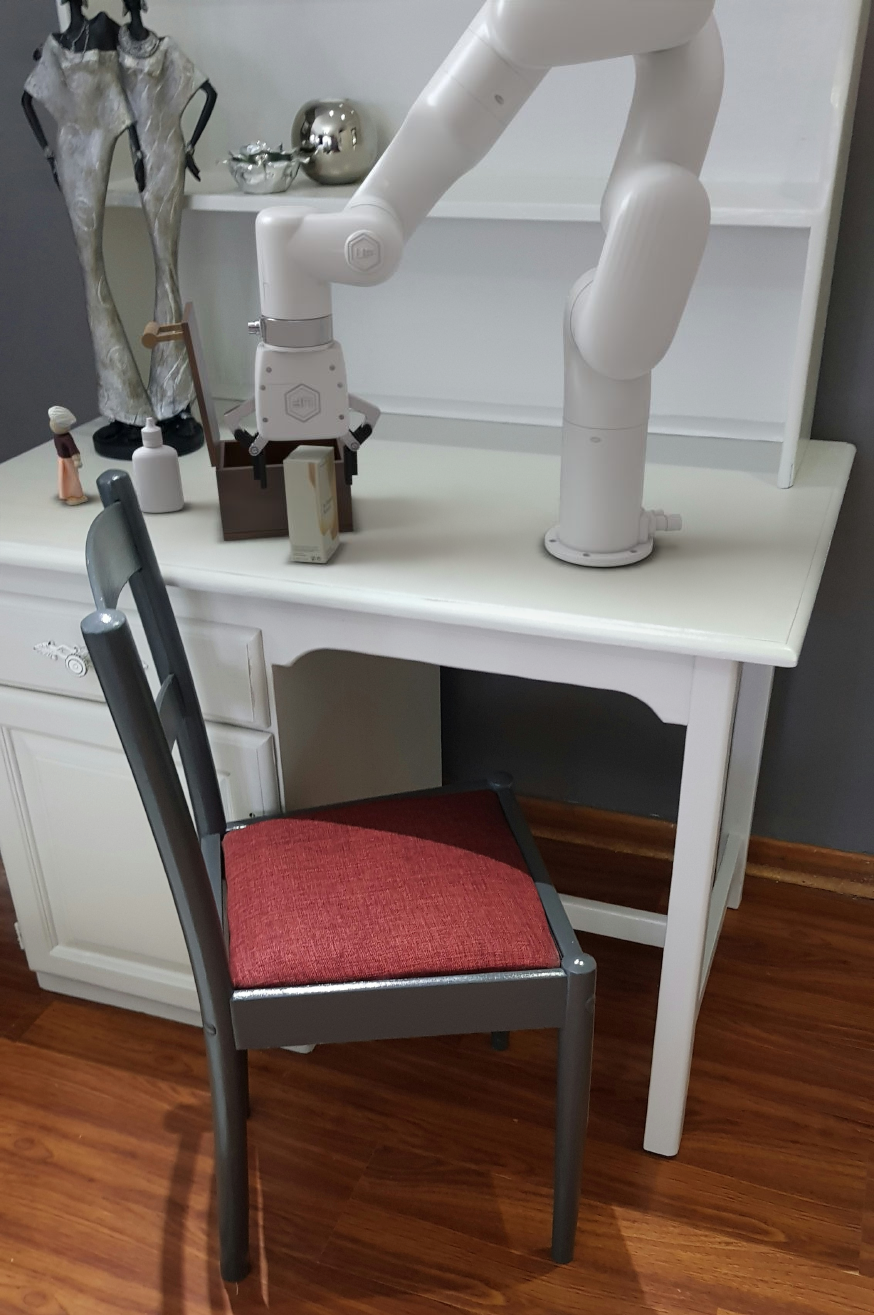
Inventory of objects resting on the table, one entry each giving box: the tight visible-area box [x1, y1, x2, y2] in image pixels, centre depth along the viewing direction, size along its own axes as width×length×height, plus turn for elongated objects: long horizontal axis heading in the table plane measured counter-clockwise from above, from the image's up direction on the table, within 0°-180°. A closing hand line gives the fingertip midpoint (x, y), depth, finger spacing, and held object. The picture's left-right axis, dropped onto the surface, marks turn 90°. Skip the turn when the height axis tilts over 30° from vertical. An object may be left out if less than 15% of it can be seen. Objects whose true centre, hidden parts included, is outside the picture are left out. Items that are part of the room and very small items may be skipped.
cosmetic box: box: [283, 445, 341, 564], centre depth 128 cm, size 6×4×12 cm
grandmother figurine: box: [47, 405, 89, 506], centre depth 145 cm, size 8×4×13 cm, turn 47°
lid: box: [140, 301, 221, 468], centre depth 131 cm, size 17×12×6 cm
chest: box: [215, 437, 354, 541], centre depth 139 cm, size 16×12×9 cm
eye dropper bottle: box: [131, 417, 185, 514], centre depth 142 cm, size 4×6×12 cm
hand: (306, 483), depth 127 cm, fingers open, 9 cm apart
